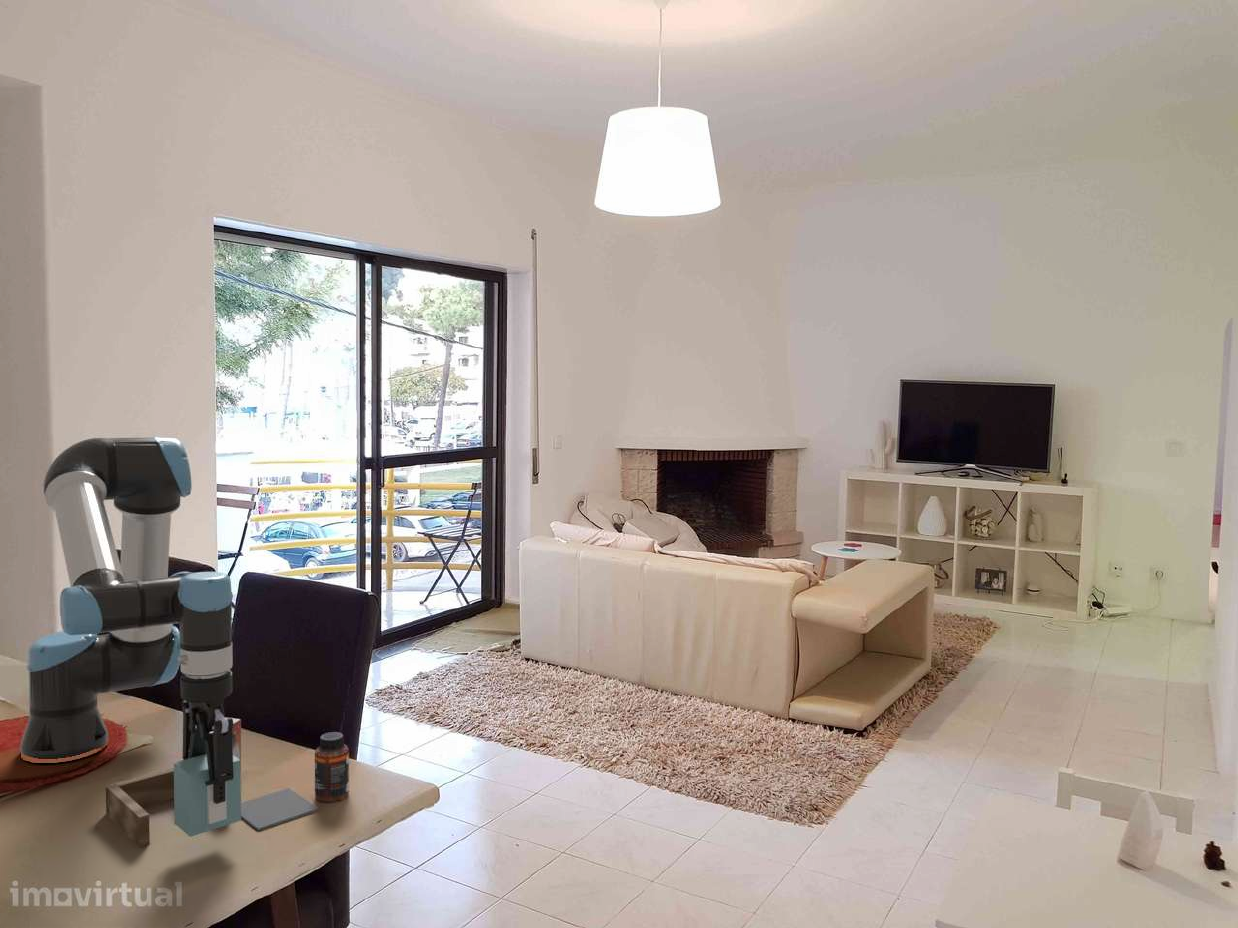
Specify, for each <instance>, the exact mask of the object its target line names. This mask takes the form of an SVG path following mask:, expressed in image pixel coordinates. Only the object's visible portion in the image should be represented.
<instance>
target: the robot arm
mask: <svg viewBox="0 0 1238 928" xmlns="http://www.w3.org/2000/svg"><path fill="white" fill-rule="evenodd" d="M190 467H191V466H190V462H189V457H188V455H187V451H186V449H185V447H184V444H183V443H182V442H181V441H180V440H179V439H177V438H174V437H158V436H152V437H146V436H145V437H109V438H108V437H92V438H88V439H85V440H81V441H79V442H77V443H74V444H72V445H71V446H68V447H67V448H66V449H65V450H63V451H62V452H61V453H60V454H59V455H58V456H57V457H56V458H55V459H54V460H53V462H52V463H51V464H50V466H49V468H48V470H47V471H46V474H45V477H44V480H43V481H44V482H43V493H44V498H45V502H46V504H47V506H48V507H49V509H51V510H52V511H54V513H55V517H56V523H57V529H58V532H59V533H58V534H59V537H60V542H61V546H62V547H61V548H62V552H63V556H64V560H65V561H64V562H65V565H66V571H67V575H68V579H69V580H68V581H69V584H70V586H69V587H66V588H63V589H62V590H61V592H60V595H59V616H60V623H61V624H60V625H61V629H62V631H58V632H55V633H51V634H47V635H45V636H43V637H40V638H39V639H37V640H36V641H34V643H32V644H31V646H30V647H29V650H28V662H27V663H28V664H27V667H26V669H27V671H28V690H29V691H28V694H29V695H28V696H29V698H28V700H29V701H28V702H29V718H28V721H27V723H26V726H25V728H24V733H23V735H22V737H21V741H20V745H19V752H20V751H21V753H22V754H24V755H26V756H29V757H33V758H38V759H58V758H66V757H72V756H76V755H80V754H83V753H86V752H89V751H91V750H94V749H98V748H101V747H103V746H104V745H105V744H106V743H107V741H108V742H109V733H108V729H107V727H106V724H105V722H104V719H103V716H102V715H101V712H100V710H99V707H98V695H101V694H106V693H110V692H111V693H113V692H119V691H124V690H130V689H137V688H143V687H148V688H150V687H153V686H156V685H160V684H165V683H169V682H170V681H171V680H173V679H174V678H175V676H176V675H177V673H178V670H179V669H180V670H179V671H180V672H181V673H182V675H181V676H179V678H180V679H179V680H180V681H179V684H180V685H179V688H180V689H179V690H180V693H179V694H180V695H179V696H180V698H181V700H182V701H181V708H182V717H183V718H182V760H185V759H189V758H193V757H197V756H200V755H204V754H206V756H207V763H208V770H209V778H210V781H207V782H205V784H206V786H207V823H208V824H212V823H215V822H218V821H221V820H224V819H227V804H226V781H229V780H233V778H234V773H233V747H232V729H233V719H232V718H233V717H226V713H225V709H224V704H223V702H224V700H225V699H226V698H229V696H231V694H232V692H233V672H232V670H231V669H233V665H234V664H233V661H234V660H233V658H234V657H233V641H232V638H233V636H232V635H233V633H232V632H233V631H232V630H233V629H232V628H233V627H232V625H233V624H232V623H233V622H232V621H233V619H232V618H233V614H232V613H233V611H232V610H233V608H232V607H233V605H232V603H233V598H234V595H233V592H232V580H231V577H230V576H229V575H228V574H227V573H223V572H219V571H200V572H192V571H191V572H190V571H179V572H175V573H174V574H172V575H170V576H168V575H169V559H170V558H169V557H170V541H171V538H170V537H171V525H172V524H171V523H172V522H171V521H172V520H171V519H172V514H174V512H176V511H177V510H178V509H179V508H180V507H181V498H186V497H189V496H190V495H191V493H192V492H191V491H192V487H193V486H192V475H191V468H190ZM108 500H109V501H111V500H113V507H114V508H115V509H116V510H118V511H119V512H120V513H121V516H122V518H121V541H120V558H119V555H118V551H117V547H116V544H115V539H114V537H113V532H112V529H111V525H110V521H109V518H108V514H107V510H106V505H105V501H108ZM175 624H179V629H178V627H176V626H175ZM102 633H103V634H102ZM104 633H107V634H104ZM226 718H227V719H226ZM212 731H213V733H210V734H209V732H212Z"/></svg>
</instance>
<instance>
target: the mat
mask: <svg viewBox="0 0 1238 928" xmlns="http://www.w3.org/2000/svg"><path fill="white" fill-rule="evenodd" d="M319 810H320V808H319V806H316V804H313V802H310V801H309V800H307V799H306V798H305V797H303V796H301V795H300V794H299V793H297V792H295V791H294V790H292V789H291V788H290V787H288V788H284V789H281V790H278V791H275V792H272V793H268V794H265V795H261V796H259V797H254V798H252V799H249V800H245V801H241V820H242V819H243V820H244V821H245V823H247V824H248V825H250V826H251V827H252V828H254V829H255V830H256V831H262V830H265V829H267V828H271V827H275V826H276V825H280V824H282V823H286V822H289V821H291V820H295V819H298V818H300V817H304V816H306V815H308V814H312V813H315V812H317V811H319ZM314 811H315V812H314Z"/></svg>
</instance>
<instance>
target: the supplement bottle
mask: <svg viewBox="0 0 1238 928" xmlns="http://www.w3.org/2000/svg"><path fill="white" fill-rule="evenodd" d="M319 744H320V745H319V746H318V747H316V749H315V751H314V796H315V799H316V800H318V801H320V802H324V803H335V802H337V801H341V800H343V799H345V798H346V797H348V795H349V793H350V752H349V751H350V750H349V746H348V745H346V744H345V743H344V735H343V733H342V732H338V731H331V732H325V733H324V734H322V735H321V736H320V739H319ZM334 801H335V802H334Z"/></svg>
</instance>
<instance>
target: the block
mask: <svg viewBox="0 0 1238 928" xmlns="http://www.w3.org/2000/svg"><path fill="white" fill-rule="evenodd" d="M173 768H174V798H173V800H174V802H173V804H174V807H173V808H174V809H173V811H174V814H173V815H174V825H175V826H177V827H178V828H179V829H180V830H181V831H182V832H184V834H186V835H187V836H188V837H190V838H191V837H194V836H198V835H202V834H205V833H206V832H210V831H213V830H215V829H218V828H222V827H224V826H225V827H226V826H228V825H230V824H234V823H237V822H239V821H241V820H242V818H241V803H242V793H241V792H242V779H241V778H242V777H241V775H242V774H241V772H242V761H241V762H240V759H238V758H237V757H235V756H234V755H233V773H234V778H233V780H229V781H226V804H227V819H224V820H221V821H218V822H215V823H212V824H208V823H207V786H206V784H205V782H207V781H210V778H209V770H208V763H207V756H206V754H204V755H200V756H197V757H193V758H189V759H185V760H183V759H182V760H179V761H174V762H173Z"/></svg>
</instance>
